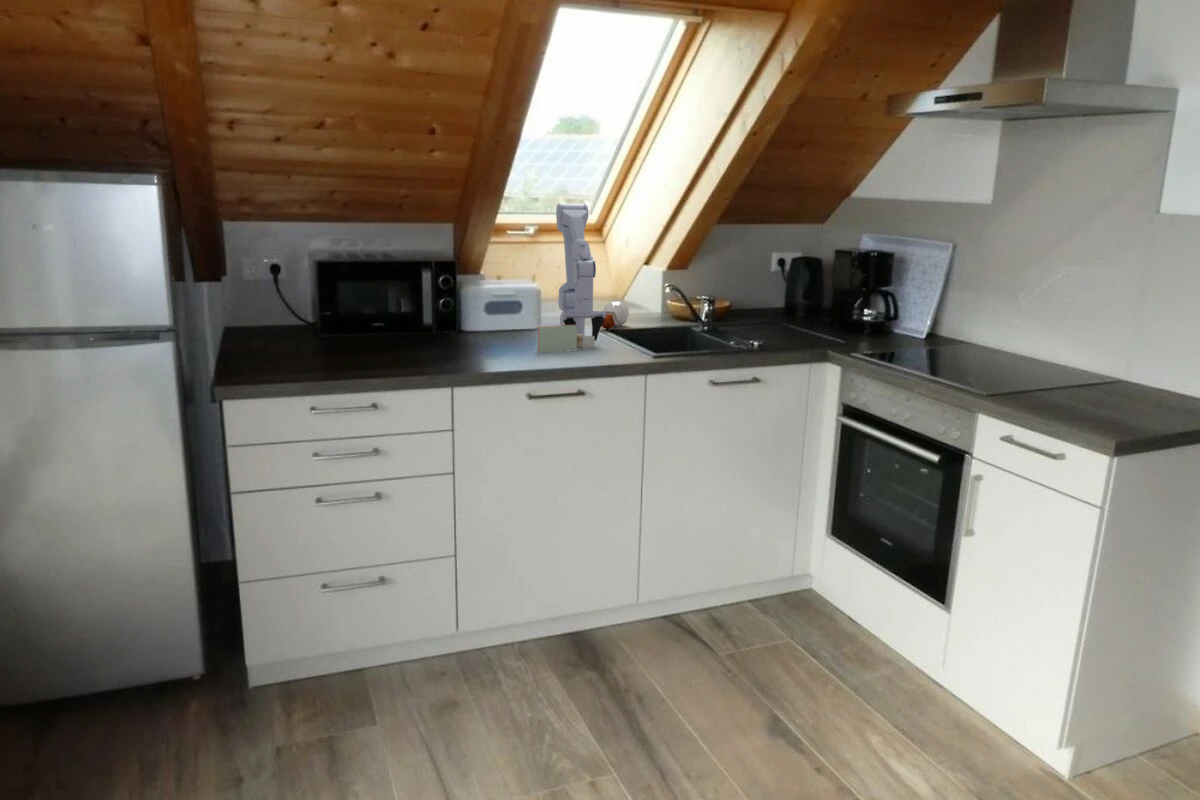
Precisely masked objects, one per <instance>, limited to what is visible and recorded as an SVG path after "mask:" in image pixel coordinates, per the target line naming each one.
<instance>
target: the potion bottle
mask: <svg viewBox="0 0 1200 800" xmlns="http://www.w3.org/2000/svg"><path fill="white" fill-rule="evenodd" d="M602 311H605V312H606V318H603V319H604V322H603V324H602V326H601V328H603V329H604V328H606V329H610V328H611V329H612V328H615V327H614V326H619V327H621V326H623V325H624V324H626V323H627V322H628V319H629V315H630V311H629V308H628V306H627V305H626V304H625V303H624V302H622V301H619V300H611V301H609V302H608V303H606V304H605V305H604V308H603V310H602ZM620 325H621V326H620ZM606 329H605V330H606ZM611 329H610V330H611Z"/></svg>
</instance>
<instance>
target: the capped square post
mask: <svg viewBox="0 0 1200 800" xmlns="http://www.w3.org/2000/svg"><path fill="white" fill-rule="evenodd" d="M594 339H595V336H592V335H589V336H588V335H585V336H584V335H582V334H577V345H578V346H580V347H582V348H581V350H592V349H591V348H594V349H595V341H594ZM578 346H577V347H578ZM580 347H579V348H580ZM589 348H590V349H589Z"/></svg>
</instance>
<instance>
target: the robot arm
mask: <svg viewBox="0 0 1200 800" xmlns="http://www.w3.org/2000/svg"><path fill="white" fill-rule="evenodd" d="M555 212H556V213H555V217H556V219H555V220H556V228H557V231H559V232H560V233H562V237H563V244H564V260H565V261H564V262H565V265H564V266H565V276H566V277H565V278H566V282H565V283H563V284H562V285H561V286H560V287H559V289H558V298H557V299H558V308H559V309H560V311H562V312H561V314H560V316H559V325H572V324H575V325H577V334H582V335H584V336H586V333H585V331H586V328H585V327H586V325H585V324H586V323H585V322H586V319H590V321H591V332H592V333H591V336H595V339H594V342H596V341H598V337H599V336H598V335H599V332H600V330H601V328H602V324H603V322H604V319H603V318H606V312H605V311H603V310H594V279H595V278H596V271H597V265H596V260H595V259H594V257H592V255H591V254H592V252H591V250H590V249H591V248H590V244H589V242H588V241H586V240H585V239H586V238H585V228H586V226H587V222H588V220H589V206H588V204H587V203H562V202H558V203H557V206H556V210H555Z"/></svg>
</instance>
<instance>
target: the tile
mask: <svg viewBox="0 0 1200 800" xmlns="http://www.w3.org/2000/svg"><path fill="white" fill-rule="evenodd" d="M577 347H578V346H577V325H575V324H572V325H560V324H559V325H557V324H555V325H540V326H537V352H538V353H539V352H549V353H556V352H555V351H564V352H568V351H567V350H578V349H577Z"/></svg>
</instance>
